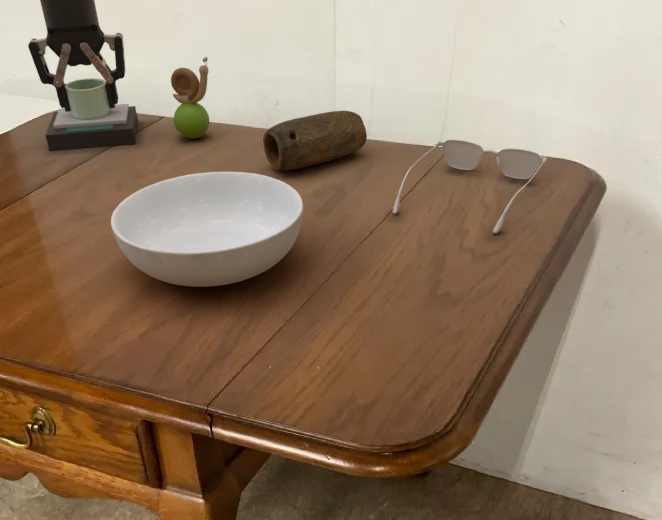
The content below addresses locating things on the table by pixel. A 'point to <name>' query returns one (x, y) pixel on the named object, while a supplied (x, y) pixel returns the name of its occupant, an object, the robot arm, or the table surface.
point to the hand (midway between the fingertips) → (90, 108)
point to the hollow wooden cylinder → (313, 139)
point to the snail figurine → (190, 101)
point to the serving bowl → (208, 227)
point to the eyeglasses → (471, 154)
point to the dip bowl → (88, 98)
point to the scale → (93, 129)
